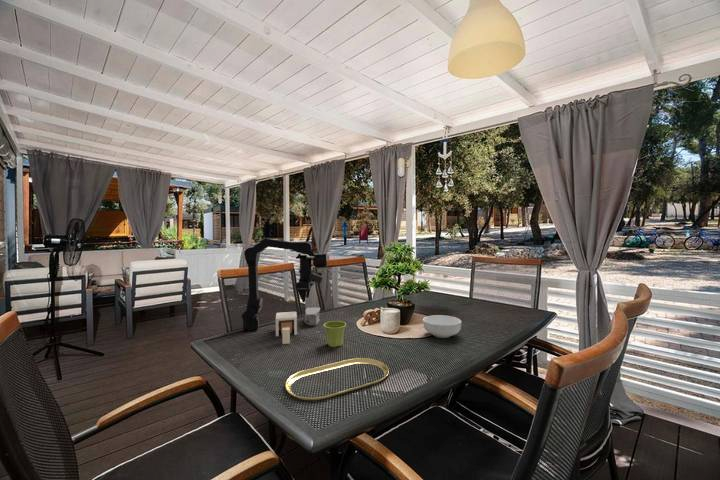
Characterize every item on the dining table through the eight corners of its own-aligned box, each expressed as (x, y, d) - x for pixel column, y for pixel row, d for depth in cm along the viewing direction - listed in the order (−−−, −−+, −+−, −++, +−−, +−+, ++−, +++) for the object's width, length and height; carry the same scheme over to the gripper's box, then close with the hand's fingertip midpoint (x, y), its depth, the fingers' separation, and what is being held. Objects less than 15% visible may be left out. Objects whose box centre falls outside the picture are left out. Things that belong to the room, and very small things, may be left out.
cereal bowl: (457, 329, 151) (457, 314, 151) (465, 342, 135) (465, 325, 135) (421, 328, 153) (421, 314, 153) (424, 340, 137) (424, 324, 136)
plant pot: (343, 349, 127) (342, 328, 127) (320, 348, 129) (320, 327, 129) (348, 341, 136) (348, 321, 136) (327, 339, 138) (327, 320, 138)
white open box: (275, 336, 143) (275, 318, 143) (276, 329, 153) (276, 312, 152) (297, 334, 145) (296, 317, 145) (296, 327, 155) (296, 311, 154)
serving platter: (277, 381, 102) (277, 376, 102) (369, 358, 120) (369, 354, 120) (297, 410, 86) (297, 404, 86) (400, 378, 104) (400, 374, 103)
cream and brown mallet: (280, 344, 133) (279, 330, 133) (281, 330, 151) (281, 317, 151) (292, 343, 134) (292, 329, 134) (292, 329, 152) (291, 317, 152)
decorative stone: (317, 318, 172) (299, 319, 168) (318, 305, 172) (299, 306, 168) (325, 326, 159) (306, 328, 155) (326, 312, 158) (306, 314, 154)
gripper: (319, 270, 143) (319, 304, 144) (324, 265, 162) (324, 295, 163) (295, 270, 143) (295, 304, 144) (303, 265, 162) (303, 295, 163)
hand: (305, 299), depth 153 cm, fingers open, 9 cm apart
